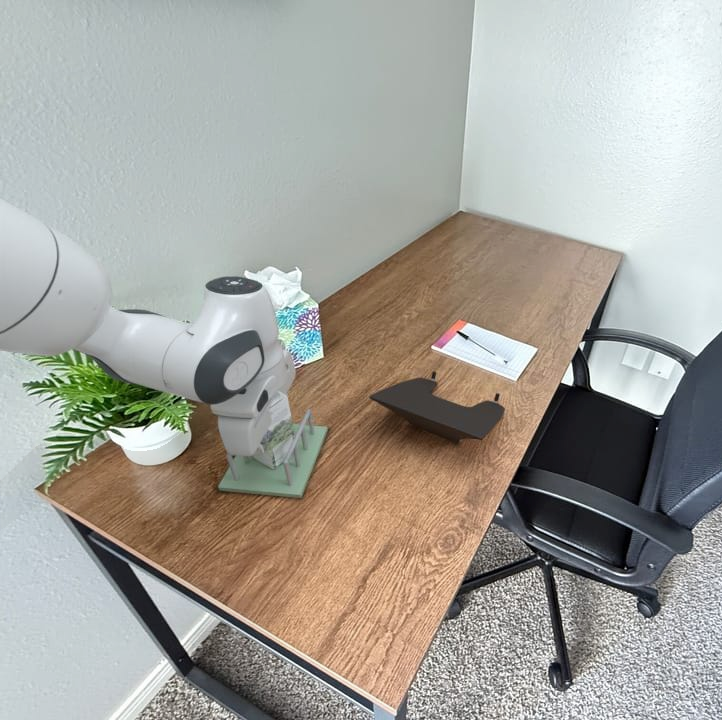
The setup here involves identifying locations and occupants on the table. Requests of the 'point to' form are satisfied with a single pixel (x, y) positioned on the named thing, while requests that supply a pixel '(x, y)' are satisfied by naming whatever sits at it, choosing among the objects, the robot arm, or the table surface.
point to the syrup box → (277, 433)
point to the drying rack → (288, 475)
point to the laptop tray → (439, 411)
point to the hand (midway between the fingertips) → (271, 431)
